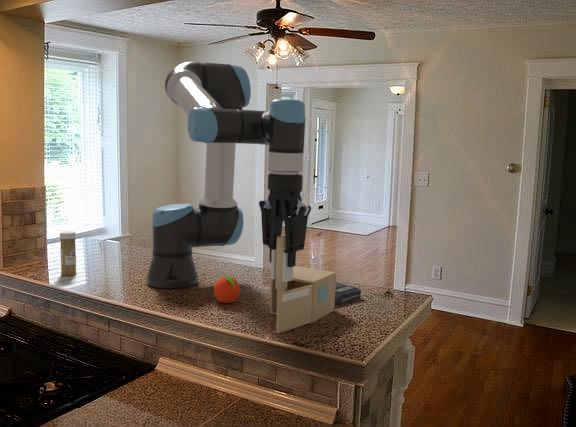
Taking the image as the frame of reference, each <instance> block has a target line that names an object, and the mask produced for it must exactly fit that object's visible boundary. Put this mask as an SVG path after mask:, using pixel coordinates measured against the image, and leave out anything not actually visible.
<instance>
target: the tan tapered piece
mask: <svg viewBox="0 0 576 427" xmlns="http://www.w3.org/2000/svg"><path fill="white" fill-rule="evenodd" d="M284 250H286V240H285V235H281V236H277V249H276V287H275V288H276V289H277V315H276V324H275V325H276V327H275V328H276V329H275V330H276V331H275V333H277V334H281V333H283V332H286V331H288V330H292V329H295V328H298V327H301V326H305V325H307V324H310V323H311V314H312V285H309V286H305V287H301V288H297V289H293V290H289V291H285V290H286V289H287V282H282V269H283V252H284Z"/></svg>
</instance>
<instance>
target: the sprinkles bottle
mask: <svg viewBox="0 0 576 427" xmlns="http://www.w3.org/2000/svg"><path fill="white" fill-rule="evenodd" d="M76 238H77V234H76V231H72V230H71V231H70V230H67V231H60V232H59V240H60V268H61V269H60V270H61V272H60V275H61V276H63V277H65V276H66V277H70V276H75V275H76V274H77V254H76Z"/></svg>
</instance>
